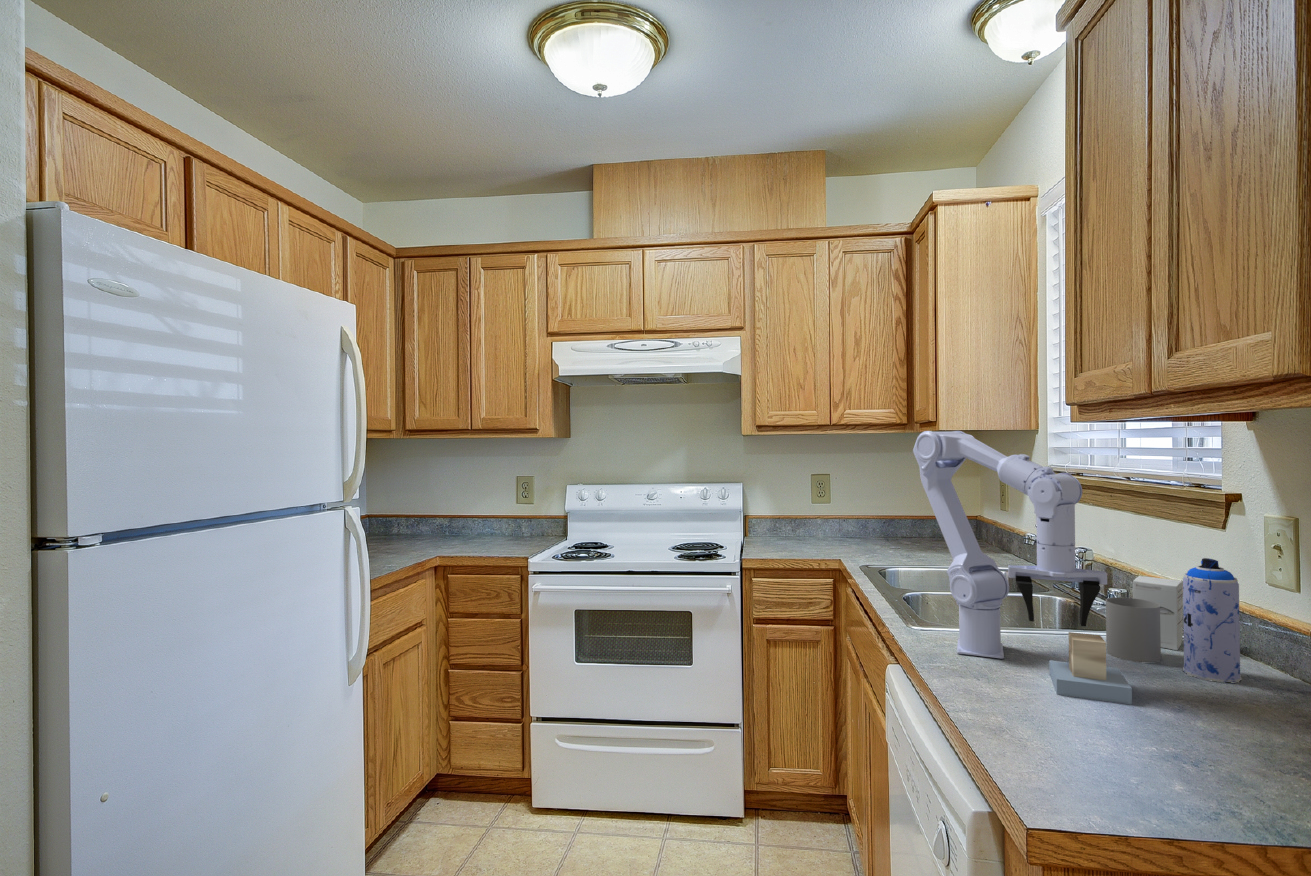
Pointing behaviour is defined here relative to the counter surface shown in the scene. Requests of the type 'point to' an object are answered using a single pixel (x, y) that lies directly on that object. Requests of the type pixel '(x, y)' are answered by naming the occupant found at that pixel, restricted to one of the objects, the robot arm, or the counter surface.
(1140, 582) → the supplement box
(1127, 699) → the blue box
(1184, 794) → the counter surface
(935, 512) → the robot arm
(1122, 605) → the cup
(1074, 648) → the birch block
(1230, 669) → the aerosol can
